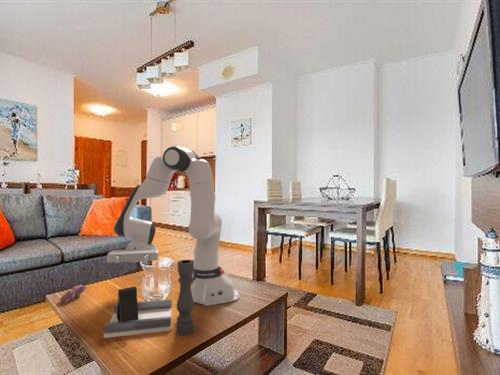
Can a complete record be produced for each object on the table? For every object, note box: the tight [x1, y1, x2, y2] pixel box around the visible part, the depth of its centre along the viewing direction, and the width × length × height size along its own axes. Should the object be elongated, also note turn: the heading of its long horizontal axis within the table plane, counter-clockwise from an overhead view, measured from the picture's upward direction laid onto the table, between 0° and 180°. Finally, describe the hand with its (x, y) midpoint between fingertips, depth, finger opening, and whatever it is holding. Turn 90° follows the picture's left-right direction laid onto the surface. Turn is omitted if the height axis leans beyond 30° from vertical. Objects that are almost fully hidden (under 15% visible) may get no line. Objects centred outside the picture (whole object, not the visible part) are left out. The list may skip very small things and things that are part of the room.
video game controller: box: [59, 284, 87, 303], centre depth 128 cm, size 10×5×7 cm, turn 170°
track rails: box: [103, 298, 173, 335], centre depth 108 cm, size 22×17×3 cm
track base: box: [103, 308, 173, 339], centre depth 109 cm, size 22×19×1 cm
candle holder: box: [175, 259, 195, 337], centre depth 102 cm, size 6×6×25 cm
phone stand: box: [117, 286, 139, 321], centre depth 107 cm, size 9×6×12 cm, turn 35°
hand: (131, 260), depth 115 cm, fingers open, 8 cm apart
